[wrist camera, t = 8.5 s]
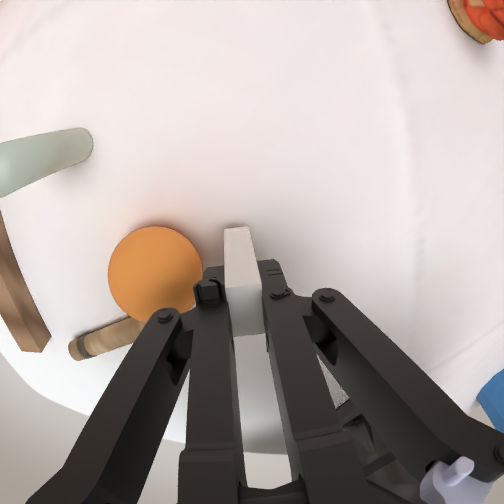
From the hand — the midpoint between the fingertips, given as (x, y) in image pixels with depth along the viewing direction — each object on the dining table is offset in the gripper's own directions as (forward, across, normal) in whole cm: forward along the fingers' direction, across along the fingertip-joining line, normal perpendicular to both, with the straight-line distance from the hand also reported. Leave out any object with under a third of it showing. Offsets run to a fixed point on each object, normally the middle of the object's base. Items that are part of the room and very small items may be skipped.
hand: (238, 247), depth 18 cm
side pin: (+2, +10, -8) cm, 13 cm away
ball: (-1, +5, +1) cm, 5 cm away
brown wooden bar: (+2, +21, -2) cm, 21 cm away
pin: (+1, +8, +6) cm, 10 cm away
